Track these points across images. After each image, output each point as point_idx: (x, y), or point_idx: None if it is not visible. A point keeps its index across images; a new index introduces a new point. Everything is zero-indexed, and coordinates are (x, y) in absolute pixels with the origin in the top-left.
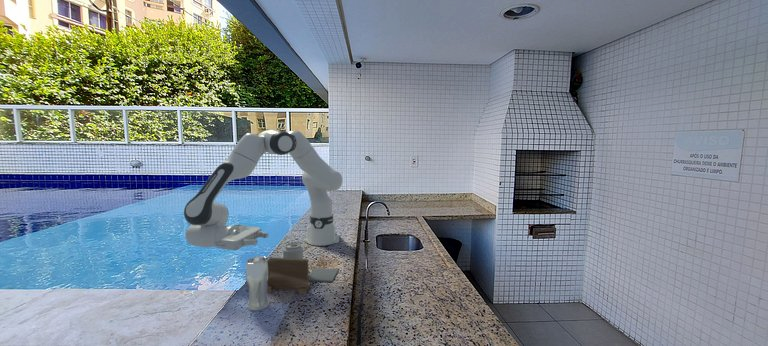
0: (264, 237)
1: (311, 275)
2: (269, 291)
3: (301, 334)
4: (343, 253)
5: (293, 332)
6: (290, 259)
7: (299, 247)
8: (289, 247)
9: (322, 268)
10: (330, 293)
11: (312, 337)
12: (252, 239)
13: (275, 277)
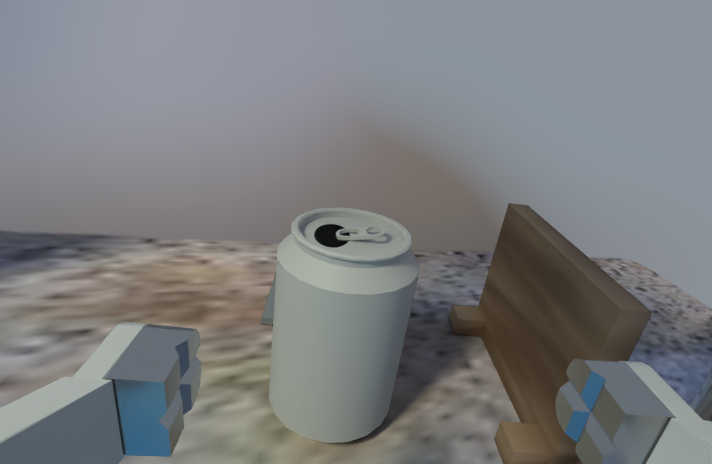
0: (181, 413)
1: None
2: None
3: (694, 308)
4: (50, 250)
5: (707, 321)
6: (556, 238)
7: (362, 220)
8: (409, 237)
9: (269, 293)
10: (468, 275)
11: (679, 292)
12: (646, 413)
13: None
